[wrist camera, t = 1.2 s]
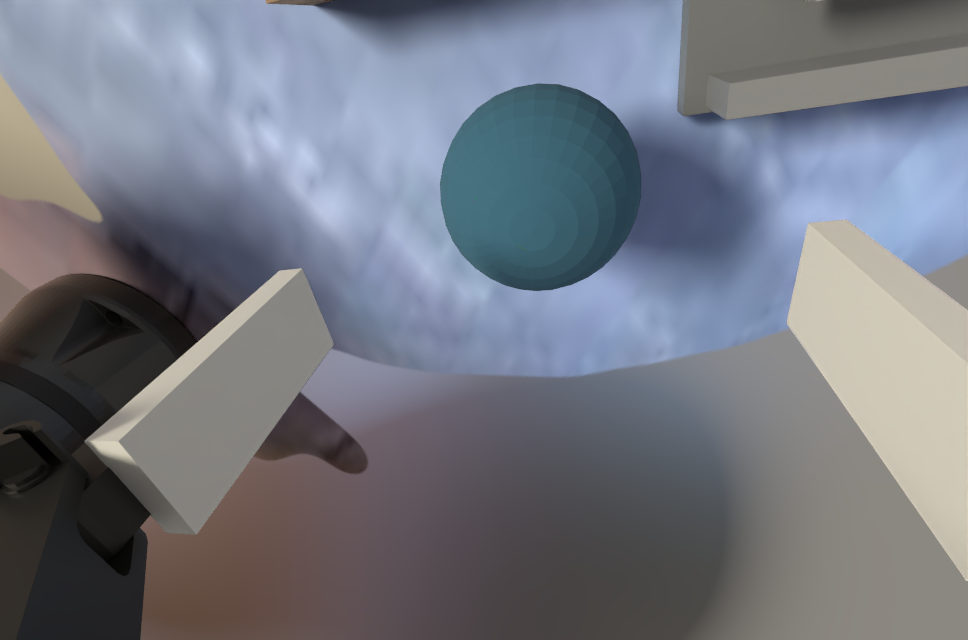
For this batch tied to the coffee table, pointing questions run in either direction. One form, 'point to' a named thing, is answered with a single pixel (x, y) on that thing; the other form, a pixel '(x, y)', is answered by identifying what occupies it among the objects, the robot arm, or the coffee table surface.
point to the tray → (297, 2)
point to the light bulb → (540, 187)
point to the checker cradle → (816, 53)
